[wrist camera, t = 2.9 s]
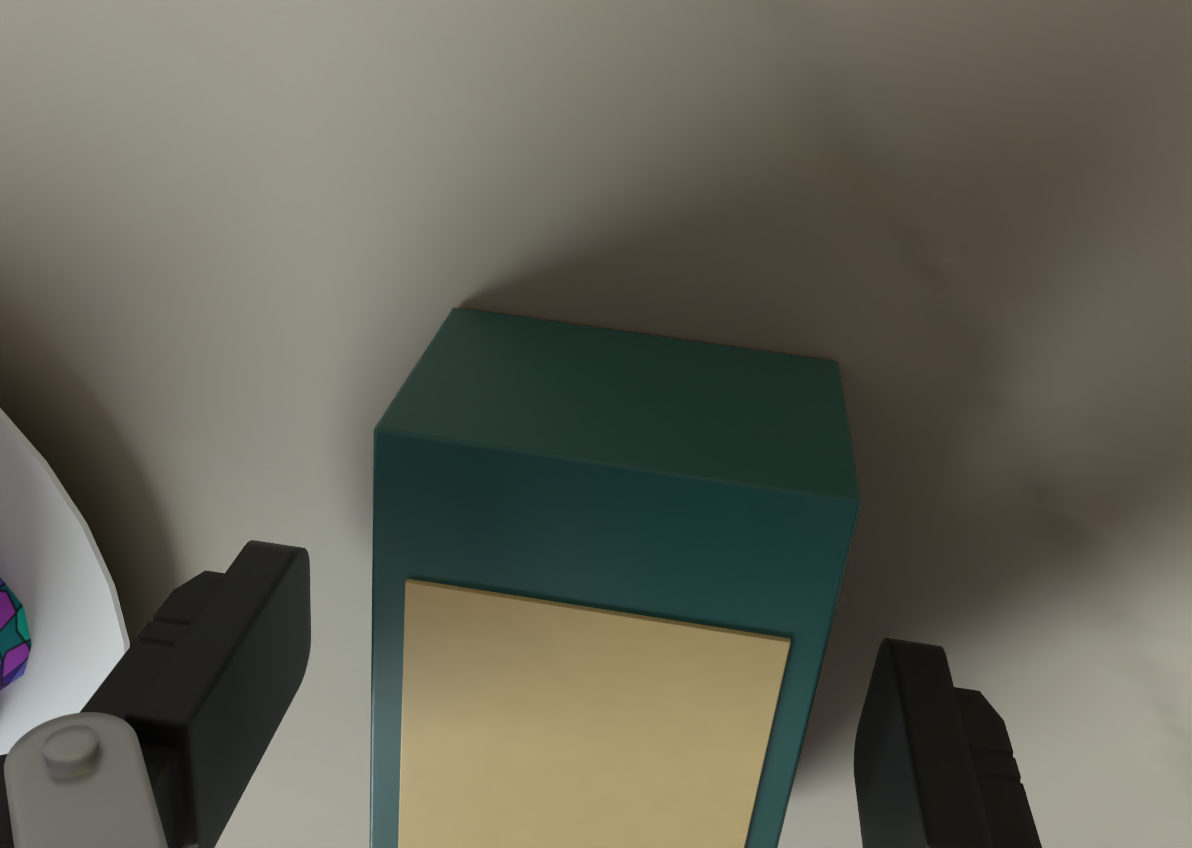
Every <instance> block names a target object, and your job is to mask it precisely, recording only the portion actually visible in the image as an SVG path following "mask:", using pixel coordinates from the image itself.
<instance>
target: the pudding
mask: <svg viewBox="0 0 1192 848" xmlns="http://www.w3.org/2000/svg"><path fill="white" fill-rule="evenodd" d="M129 647H130V642H129V638H128V634H127V630H126V626H125V623H124V619H123V615H122V611H121V607H120V603H119V599H118V595H117V591H116V588H115V584H114V582H113V580H112V577H111V575H110V573H109V571H108V569H107V566H106V564H105V562H104V560H103V558H102V555H101V553H100V551H99V549H98V546H97V544H96V542H95V540H94V538H93V535H92V533H91V531H90V529H89V527H88V524H87V523H86V521H85V519H84V518H83V516H82V515H81V513H80V512H79V510H78V509H77V507H76V506H75V504H74V503H73V501H72V499H71V498H70V496H69V495H68V493H67V492H66V490H65V489H64V487H63V486H62V484H61V483H60V481H59V480H58V478H57V476H56V475H55V473H54V472H53V470H52V469H51V467H50V466H49V464H48V463H47V461H46V460H45V459H44V458H43V457H42V455H41V454H40V453H39V452H38V451H37V450H36V448H35V447H34V446H33V445H32V444H31V443H30V442H29V440H28V439H27V438H26V437H25V436H24V435H23V433H22V432H21V431H20V430H19V429H18V428H17V427H16V425H15V424H14V423H13V422H12V421H11V420H10V418H9V417H8V416H7V415H6V414H5V413H4V411H3V410H2V409H1V408H0V755H4V754H8V753H9V751H10V749H11V748H12V747H13V745H14V744H15V743H16V742H17V741H18V740H19V739H20V738H21V737H22V736H23V735H24V734H26V733H27V732H28V731H30V730H31V729H33V728H35V727H36V726H38V725H40V724H42V723H44V722H46V721H49V720H51V719H54V718H57V717H60V716H64V715H69V714H74V713H79V712H80V711H81V710H82V709H83V707H84V706H85V705H86V703H87V702H88V701H89V699H90V698H91V697H92V696H93V694H94V693H95V692H96V690H97V689H98V688H99V686H100V685H101V684H102V683H103V681H104V680H105V679H106V677H107V676H108V675H109V673H110V672H111V671H112V670H113V668H114V667H115V666H116V664H117V663H118V662H119V660H120V659H121V658H122V657H123V655H124V654H125V653H126V651H127V650H128V649H129Z"/></svg>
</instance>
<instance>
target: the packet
mask: <svg viewBox="0 0 1192 848" xmlns="http://www.w3.org/2000/svg"><path fill="white" fill-rule="evenodd" d="M860 507H861V497H860V491H859V484H858V478H857V472H856V466H855V460H854V454H853V448H852V442H851V436H850V430H849V424H848V418H847V411H846V405H845V399H844V393H843V387H842V381H841V375H840V369H839V364H838V362H836V361H831V360H824V359H817V358H810V357H803V356H795V355H788V354H781V353H774V352H767V351H760V350H753V349H746V348H739V347H732V346H724V345H717V344H710V343H703V342H696V341H689V340H682V339H675V338H668V337H661V336H653V335H646V334H639V333H632V332H625V331H618V330H611V329H604V328H597V327H589V326H582V325H575V324H568V323H561V322H554V321H547V320H540V319H533V318H526V317H518V316H511V315H504V314H497V313H490V312H483V311H476V310H469V309H462V308H453V309H452V310H451V312H450V314H449V315H448V317H447V318H446V320H445V321H444V323H443V324H442V326H441V327H440V329H439V330H438V332H437V333H436V335H435V337H434V338H433V340H432V341H431V343H430V344H429V346H428V347H427V349H426V350H425V352H424V353H423V355H422V357H421V358H420V360H419V361H418V363H417V364H416V366H415V367H414V369H413V370H412V372H411V373H410V375H409V377H408V378H407V380H406V381H405V383H404V384H403V386H402V387H401V389H400V390H399V392H398V393H397V395H396V397H395V398H394V400H393V401H392V403H391V404H390V406H389V407H388V409H387V410H386V412H385V413H384V415H383V417H382V418H381V420H380V421H379V423H378V424H377V426H376V427H375V429H374V467H373V566H372V665H371V764H370V848H777V847H778V843H779V839H780V835H781V831H782V827H783V823H784V819H785V815H786V810H787V806H788V802H789V798H790V794H791V790H792V786H793V782H794V778H795V774H796V769H797V765H798V761H799V757H800V753H801V749H802V745H803V741H804V737H805V733H806V728H807V724H808V720H809V716H810V712H811V708H812V704H813V700H814V696H815V692H816V687H817V683H818V679H819V675H820V671H821V667H822V663H823V659H824V655H825V651H826V646H827V642H828V638H829V634H830V630H831V626H832V622H833V618H834V614H835V610H836V605H837V601H838V597H839V593H840V589H841V585H842V581H843V577H844V573H845V569H846V564H847V560H848V556H849V552H850V548H851V544H852V540H853V536H854V532H855V528H856V523H857V519H858V515H859V511H860Z"/></svg>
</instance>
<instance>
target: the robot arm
mask: <svg viewBox="0 0 1192 848" xmlns="http://www.w3.org/2000/svg"><path fill="white" fill-rule="evenodd" d="M310 645H311V613H310V563H309V555H308V552H307V550H306V549H305V548H301V547H294V546H287V545H281V544H274V543H268V542H261V541H254V540H251V541H249V542H248V543H247V544H246V545H245V546H244V548H243V549H242V550H241V552H240V553H239V555H238V556H237V557H236V559H235V560H234V562H233V563H232V564H231V566H230V567H229V569H228V570H227V571H226V573H218V572H212V571H204V572H202V573H201V574H199V575H197V576H196V577H194V578H192V579H191V580H189V581H188V582H186V583H184V584H183V585H181V586H180V587H178V588H176V589H175V590H173V591H172V593H171V594H170V595H169V597H168V598H167V599H166V601H165V602H164V603H163V604H162V606H161V607H160V608H159V610H158V611H157V612H156V614H155V615H154V619H153V621H149V623H148V624H147V625H146V627H145V628H144V629H143V630H142V632H141V633H140V634H139V636H138V640H137V642H135V641H134V642H133V644H132V645H131V646H130V647H129V649H128V650H127V651H126V653H125V654H124V655H123V657H122V658H121V659H120V660H119V662H118V663H117V664H116V666H115V667H114V668H113V670H112V671H111V672H110V673H109V675H108V676H107V677H106V679H105V680H104V681H103V683H102V684H101V685H100V686H99V688H98V689H97V690H96V692H95V693H94V694H93V696H92V697H91V698H90V699H89V701H88V702H87V703H86V705H85V706H84V707H83V709H82V710H81V711H80V712H79V713H74V714H69V715H64V716H60V717H57V718H54V719H51V720H49V721H46V722H44V723H42V724H40V725H38V726H36V727H35V728H33V729H31V730H30V731H28V732H27V733H26V734H24V735H23V736H22V737H21V738H20V739H19V740H18V741H17V742H16V743H15V744H14V745H13V747H12V748H11V749H10V751H9V753H8V754H4V755H0V848H214V847H215V845H216V843H217V841H218V840H219V838H220V836H221V834H222V832H223V830H224V828H225V826H226V824H227V823H228V821H229V819H230V817H231V815H232V813H233V811H234V809H235V807H236V806H237V804H238V802H239V800H240V798H241V796H242V794H243V792H244V790H245V789H246V787H247V785H248V783H249V781H250V779H251V777H252V775H253V773H254V772H255V770H256V768H257V766H258V764H259V762H260V760H261V758H262V756H263V755H264V753H265V751H266V749H267V747H268V745H269V743H270V741H271V740H272V738H273V736H274V734H275V732H276V730H277V728H278V726H279V724H280V723H281V721H282V719H283V717H284V715H285V713H286V711H287V709H288V707H289V706H290V704H291V702H292V700H293V698H294V696H295V694H296V692H297V690H298V689H299V687H300V684H301V682H302V680H303V677H304V674H305V671H306V667H307V663H308V659H309V653H310ZM854 778H855V786H856V794H857V802H858V811H859V819H860V827H861V836H862V844H863V848H1042V846H1041V843H1040V840H1039V836H1038V833H1037V830H1036V826H1035V823H1034V820H1033V816H1032V813H1031V810H1030V806H1029V803H1028V800H1027V796H1026V793H1025V790H1024V786H1023V784H1022V783H1020V778H1021V776H1020V773H1019V770H1018V766H1017V763H1016V760H1015V758H1013V750H1012V746H1011V743H1010V740H1009V736H1008V733H1007V730H1006V726H1005V723H1004V720H1003V719H1002V718H1001V717H1000V715H999V714H998V713H997V712H996V711H995V709H994V708H993V707H992V706H991V704H990V703H989V702H988V701H987V700H986V698H985V697H984V696H983V695H982V693H981V692H980V691H976V690H969V689H963V688H956V687H954V686H953V682H952V678H951V674H950V670H949V666H948V662H947V658H946V654H945V651H944V649H943V647H941V646H937V645H930V644H923V643H917V642H910V641H904V640H897V639H890V638H884V639H883V641H882V643H881V645H880V647H879V650H878V654H877V658H876V661H875V665H874V669H873V672H872V676H871V680H870V683H869V687H868V691H867V695H866V698H865V702H864V706H863V709H862V713H861V717H860V720H859V724H858V728H857V733H856V740H855V749H854Z"/></svg>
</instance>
